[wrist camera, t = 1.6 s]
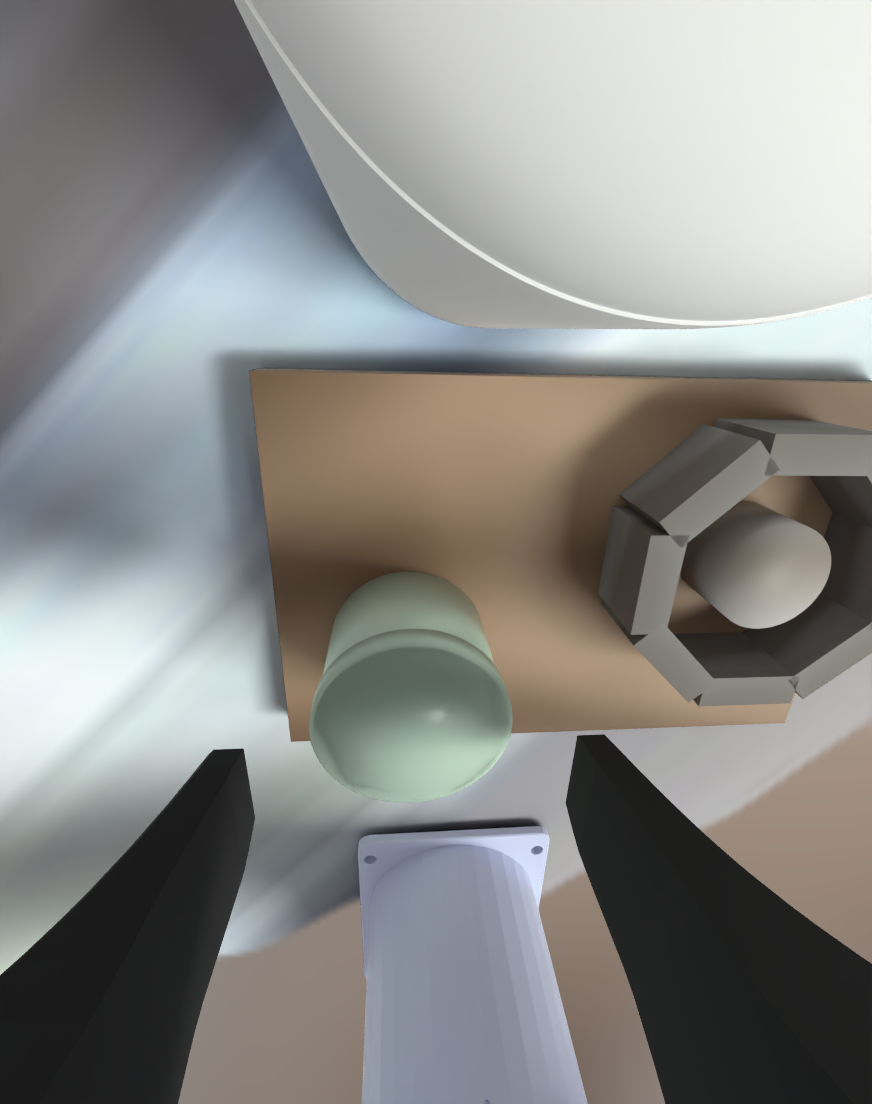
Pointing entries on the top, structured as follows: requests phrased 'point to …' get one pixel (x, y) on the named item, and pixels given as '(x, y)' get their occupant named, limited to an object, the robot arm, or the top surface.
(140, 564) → the top surface
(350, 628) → the cap
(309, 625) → the stud board
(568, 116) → the pill bottle
